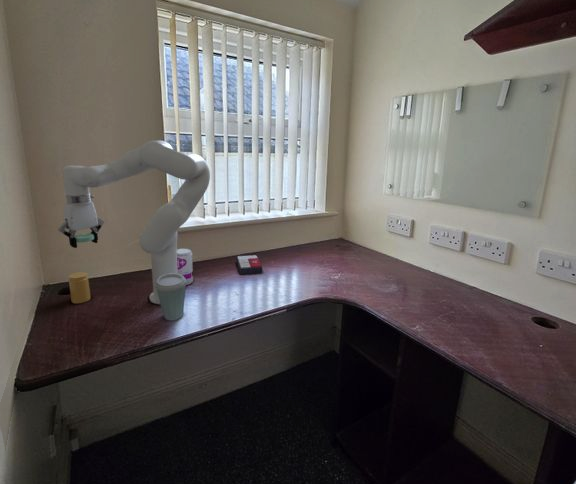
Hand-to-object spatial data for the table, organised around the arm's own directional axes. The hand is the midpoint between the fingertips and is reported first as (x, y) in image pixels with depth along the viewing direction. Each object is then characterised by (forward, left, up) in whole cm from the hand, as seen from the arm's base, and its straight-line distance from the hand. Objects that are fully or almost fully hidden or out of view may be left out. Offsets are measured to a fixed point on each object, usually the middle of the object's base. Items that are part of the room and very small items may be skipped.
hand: (84, 244), depth 123 cm
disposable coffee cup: (-37, -16, -22) cm, 46 cm away
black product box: (-20, -66, -22) cm, 72 cm away
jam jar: (-2, +4, -22) cm, 22 cm away
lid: (0, 0, +3) cm, 3 cm away
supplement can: (-14, -33, -22) cm, 42 cm away
